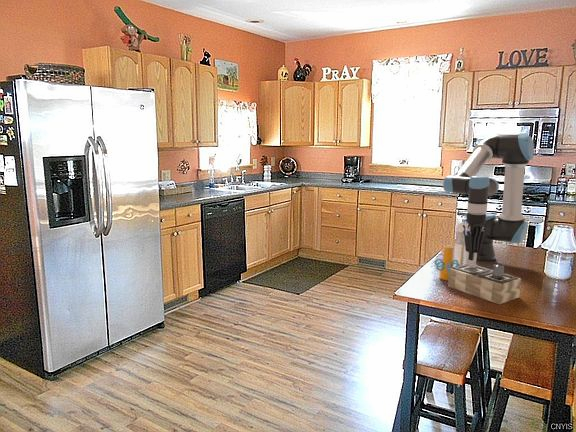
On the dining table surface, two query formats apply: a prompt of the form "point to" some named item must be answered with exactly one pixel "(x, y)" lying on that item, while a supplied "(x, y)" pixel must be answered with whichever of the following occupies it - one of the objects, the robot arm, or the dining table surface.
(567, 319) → the dining table surface
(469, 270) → the peg
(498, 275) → the peg
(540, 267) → the dining table surface
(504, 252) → the dining table surface
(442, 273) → the ringed orange tube
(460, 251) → the water bottle
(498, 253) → the dining table surface
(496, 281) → the socket block
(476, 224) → the robot arm
